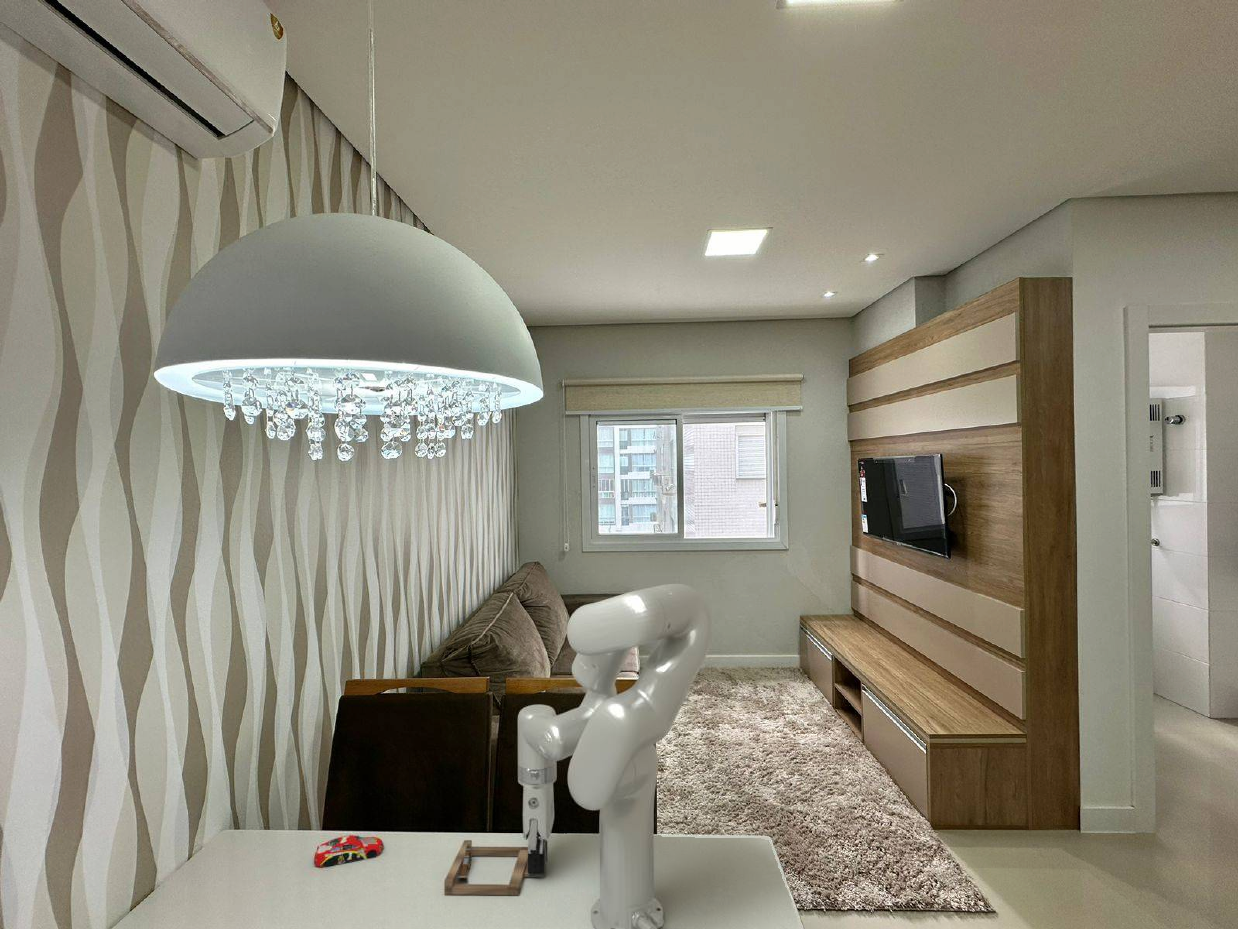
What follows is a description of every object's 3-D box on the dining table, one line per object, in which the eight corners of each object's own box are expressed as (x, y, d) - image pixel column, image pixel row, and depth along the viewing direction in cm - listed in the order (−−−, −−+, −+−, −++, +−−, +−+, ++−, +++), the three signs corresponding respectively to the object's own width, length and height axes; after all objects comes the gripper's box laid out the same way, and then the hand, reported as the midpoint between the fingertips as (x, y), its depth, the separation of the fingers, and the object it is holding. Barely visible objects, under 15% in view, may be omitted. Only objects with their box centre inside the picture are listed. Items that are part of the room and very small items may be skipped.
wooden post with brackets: (475, 855, 137) (473, 839, 136) (468, 893, 130) (466, 876, 128) (466, 855, 137) (464, 839, 136) (459, 893, 130) (457, 877, 128)
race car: (383, 845, 144) (383, 826, 144) (384, 858, 139) (384, 838, 139) (315, 857, 139) (315, 837, 139) (313, 871, 134) (313, 851, 134)
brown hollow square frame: (540, 895, 125) (539, 856, 125) (444, 894, 125) (444, 856, 125) (550, 853, 139) (550, 818, 139) (464, 852, 140) (464, 818, 140)
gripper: (551, 790, 124) (551, 892, 124) (561, 755, 141) (561, 845, 140) (510, 790, 124) (510, 892, 124) (525, 755, 141) (525, 845, 140)
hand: (537, 866), depth 132 cm, fingers closed on brown hollow square frame, 3 cm apart
